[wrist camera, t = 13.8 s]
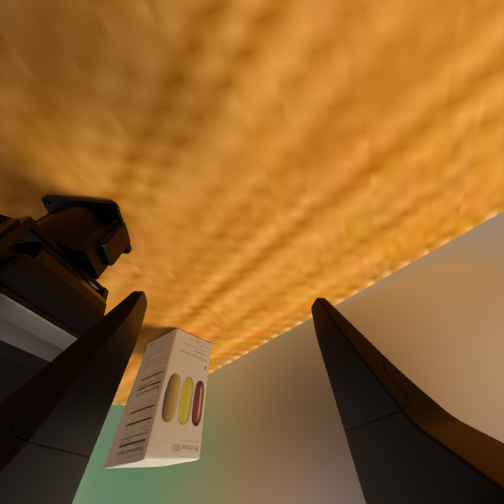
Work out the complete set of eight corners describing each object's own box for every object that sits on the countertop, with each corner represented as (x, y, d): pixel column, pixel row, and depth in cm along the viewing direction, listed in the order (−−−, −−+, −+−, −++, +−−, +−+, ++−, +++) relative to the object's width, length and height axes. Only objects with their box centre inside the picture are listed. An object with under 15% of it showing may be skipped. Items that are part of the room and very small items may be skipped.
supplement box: (212, 342, 40) (202, 459, 27) (183, 356, 43) (162, 467, 30) (176, 326, 34) (142, 462, 21) (146, 343, 37) (100, 471, 24)
